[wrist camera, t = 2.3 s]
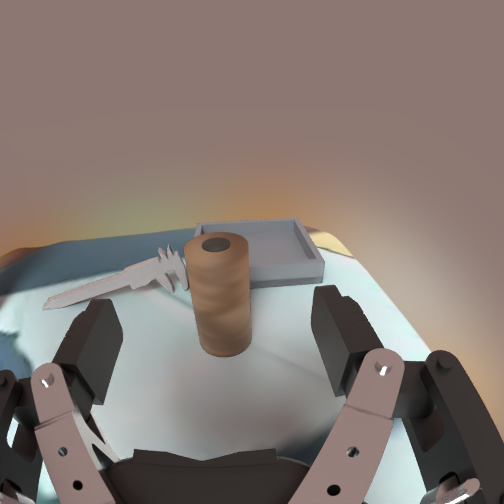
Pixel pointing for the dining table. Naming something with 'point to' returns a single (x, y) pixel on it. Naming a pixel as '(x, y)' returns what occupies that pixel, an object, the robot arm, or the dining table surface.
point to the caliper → (127, 279)
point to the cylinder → (220, 291)
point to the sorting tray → (275, 251)
